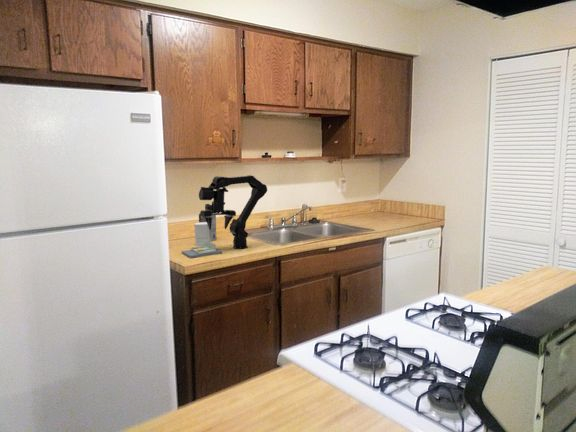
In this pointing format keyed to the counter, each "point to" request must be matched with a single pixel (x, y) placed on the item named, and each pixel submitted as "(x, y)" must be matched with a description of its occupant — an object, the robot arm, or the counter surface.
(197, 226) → the supplement box
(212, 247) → the panel
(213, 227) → the coffee box
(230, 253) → the counter surface
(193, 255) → the board
